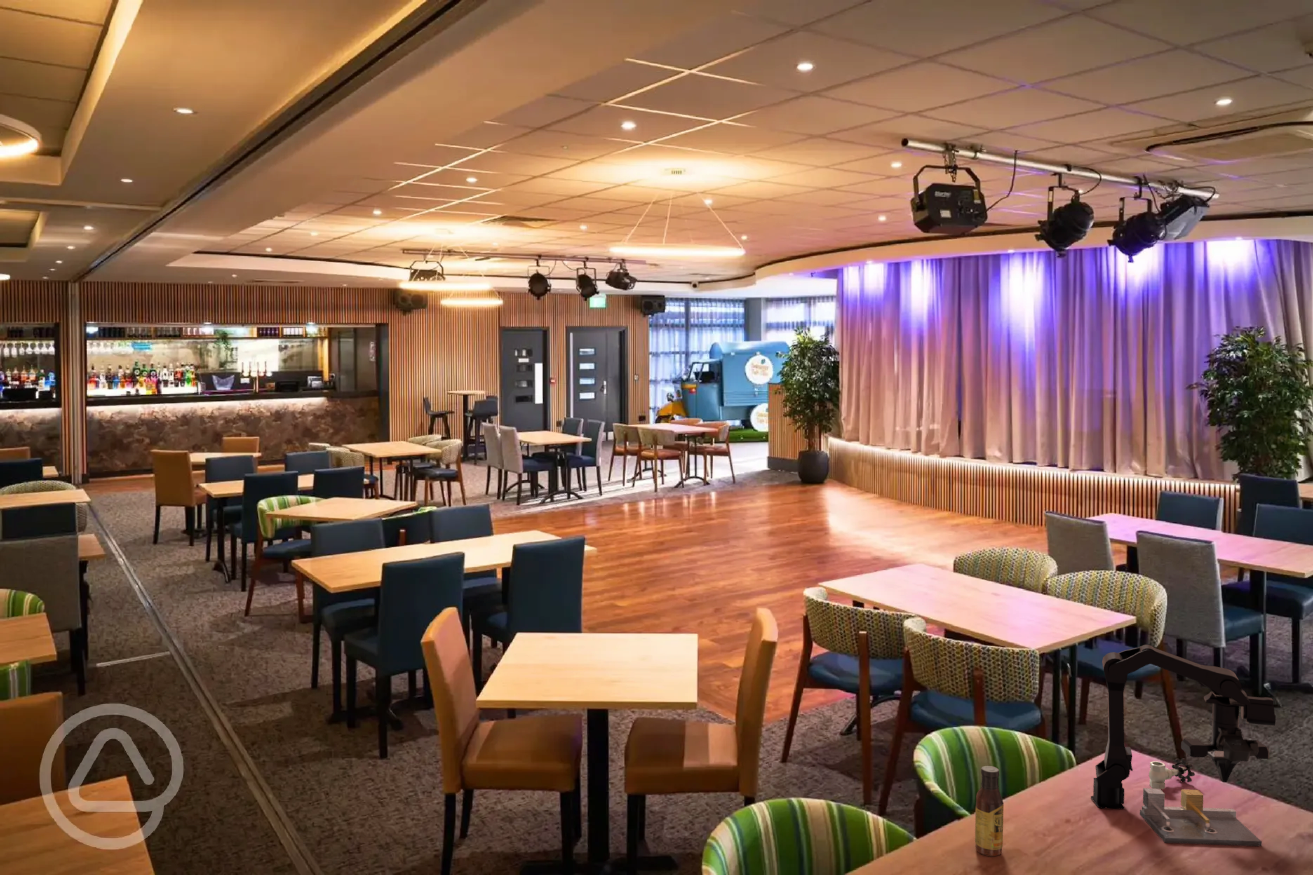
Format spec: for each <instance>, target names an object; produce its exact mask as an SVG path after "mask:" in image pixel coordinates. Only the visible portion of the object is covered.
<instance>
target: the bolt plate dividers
mask: <svg viewBox="0 0 1313 875" xmlns="http://www.w3.org/2000/svg"><path fill="white" fill-rule="evenodd" d="M1142 790H1143V793H1142V806H1141V809H1139V815H1140V816H1141V817H1142V819H1143V820H1144V821H1145V822H1146V823H1147V825H1149V826H1150V828H1151V829H1152V830H1153V831H1154V832H1155V834H1156V835H1158V837H1159V838H1160V839H1161V840H1162V841H1163V842H1164V844H1168V843H1169V844H1185V845H1186V844H1189V845H1190V844H1191V845H1213V846H1214V845H1217V846H1219V845H1221V846H1223V845H1224V846H1241V847H1242V846H1244V847H1245V846H1246V847H1248V846H1249V847H1262V845H1263V844H1262V840H1261V839H1260V838H1259V837H1258V836H1256V835H1255V834H1254V832H1252V831H1251V830H1250V829H1249V828H1248V827H1246V826H1245V825H1244V824H1243V823H1242V822H1241V821H1240V820H1239V819H1238V818H1237V810H1235V809H1234V808H1219V807H1218V808H1216V807H1215V808H1214V807H1203V811H1201V812H1202V813H1203V814H1204V815H1205V816H1206V817H1207V818H1208V819H1209V820H1210V821H1209V823H1210V827H1209V830H1206V823H1205V822H1204V821H1203V820H1202V819H1201V818H1200V817H1199V816H1198V815H1197V814H1196V813H1195V812H1194V811H1193V810H1186V809H1185V808H1184V807H1183V806H1165V798H1166V797H1165V796H1166V794H1165V792H1163V790H1160V789H1154V788H1152V787H1147V788H1146V787H1145V788H1144V787H1143V788H1142Z"/></svg>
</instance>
